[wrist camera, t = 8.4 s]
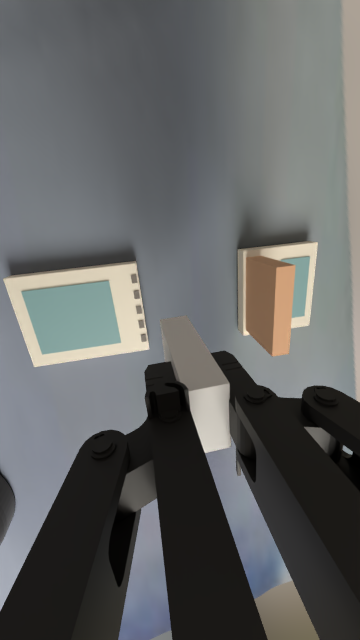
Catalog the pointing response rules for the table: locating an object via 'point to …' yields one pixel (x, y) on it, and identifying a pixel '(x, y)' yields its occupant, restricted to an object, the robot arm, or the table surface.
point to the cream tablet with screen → (79, 312)
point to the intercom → (275, 292)
